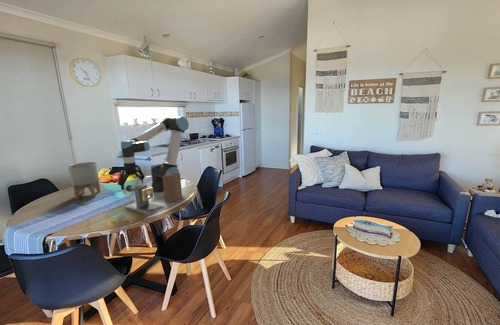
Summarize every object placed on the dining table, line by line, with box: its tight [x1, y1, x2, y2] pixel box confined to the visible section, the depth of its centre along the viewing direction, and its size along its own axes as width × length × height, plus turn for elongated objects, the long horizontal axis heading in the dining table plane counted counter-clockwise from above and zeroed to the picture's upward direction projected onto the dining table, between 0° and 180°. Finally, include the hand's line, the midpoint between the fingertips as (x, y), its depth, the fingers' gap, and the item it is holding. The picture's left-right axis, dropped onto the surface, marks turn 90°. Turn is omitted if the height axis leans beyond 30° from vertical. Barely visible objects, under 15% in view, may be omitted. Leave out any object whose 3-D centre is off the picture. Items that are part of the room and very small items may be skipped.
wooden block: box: [162, 172, 183, 202], centre depth 185 cm, size 10×10×20 cm
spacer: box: [141, 186, 155, 201], centre depth 168 cm, size 2×8×8 cm, turn 150°
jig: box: [125, 183, 165, 215], centre depth 171 cm, size 24×14×16 cm, turn 60°
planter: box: [67, 161, 101, 200], centre depth 197 cm, size 19×19×26 cm
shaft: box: [125, 184, 154, 196], centre depth 172 cm, size 24×5×5 cm, turn 60°
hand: (133, 190), depth 175 cm, fingers open, 13 cm apart
